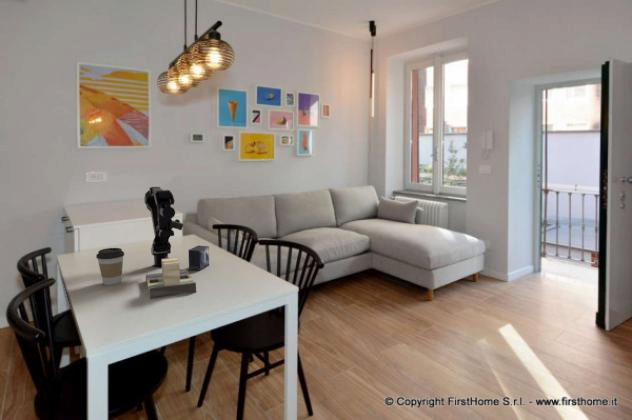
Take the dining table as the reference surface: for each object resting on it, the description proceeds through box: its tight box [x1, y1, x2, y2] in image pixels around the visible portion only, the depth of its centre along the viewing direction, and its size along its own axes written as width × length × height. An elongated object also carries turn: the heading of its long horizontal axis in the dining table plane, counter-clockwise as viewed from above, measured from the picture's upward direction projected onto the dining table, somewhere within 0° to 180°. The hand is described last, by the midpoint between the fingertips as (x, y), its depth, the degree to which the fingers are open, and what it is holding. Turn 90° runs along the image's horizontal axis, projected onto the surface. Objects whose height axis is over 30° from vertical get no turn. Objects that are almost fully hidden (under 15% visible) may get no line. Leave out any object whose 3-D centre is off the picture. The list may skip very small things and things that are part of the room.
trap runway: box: [145, 269, 197, 300], centre depth 176 cm, size 25×18×4 cm
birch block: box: [161, 256, 180, 286], centre depth 170 cm, size 9×6×10 cm, turn 26°
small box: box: [188, 245, 210, 272], centre depth 204 cm, size 11×6×10 cm, turn 168°
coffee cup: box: [95, 247, 125, 286], centre depth 180 cm, size 11×11×15 cm
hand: (165, 247), depth 196 cm, fingers closed
